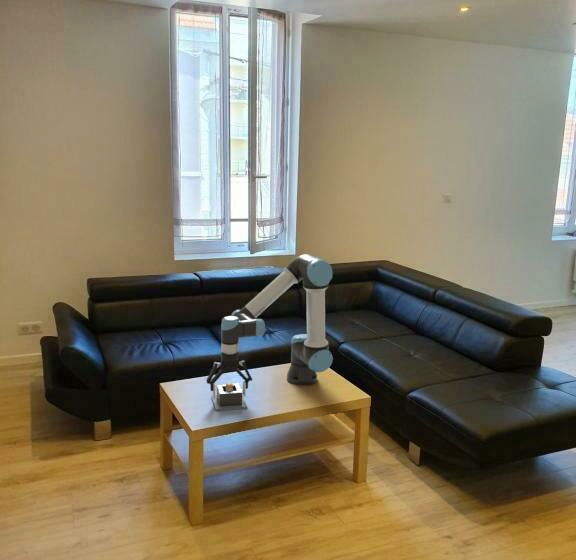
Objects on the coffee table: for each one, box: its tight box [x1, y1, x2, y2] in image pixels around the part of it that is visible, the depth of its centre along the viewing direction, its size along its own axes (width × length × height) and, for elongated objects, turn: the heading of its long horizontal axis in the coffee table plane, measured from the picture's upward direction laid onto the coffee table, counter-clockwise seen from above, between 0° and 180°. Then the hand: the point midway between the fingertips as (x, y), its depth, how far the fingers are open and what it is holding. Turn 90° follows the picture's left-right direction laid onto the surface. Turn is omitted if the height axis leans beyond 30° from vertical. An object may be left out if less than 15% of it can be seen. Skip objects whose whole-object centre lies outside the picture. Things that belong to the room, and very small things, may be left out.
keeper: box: [211, 382, 248, 412], centre depth 259 cm, size 14×14×9 cm
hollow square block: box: [216, 382, 243, 407], centre depth 259 cm, size 10×10×6 cm
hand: (229, 396), depth 259 cm, fingers open, 13 cm apart
